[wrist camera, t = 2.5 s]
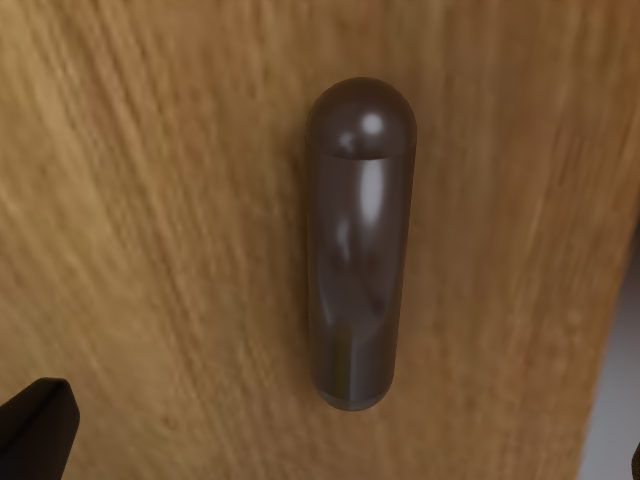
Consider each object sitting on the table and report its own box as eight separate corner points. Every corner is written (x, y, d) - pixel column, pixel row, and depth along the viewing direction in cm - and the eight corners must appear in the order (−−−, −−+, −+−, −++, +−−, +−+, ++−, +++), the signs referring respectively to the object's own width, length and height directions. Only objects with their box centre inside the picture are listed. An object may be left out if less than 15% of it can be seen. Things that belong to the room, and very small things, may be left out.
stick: (420, 63, 11) (424, 104, 9) (391, 368, 15) (391, 433, 14) (311, 60, 11) (296, 100, 9) (315, 363, 15) (305, 426, 14)
